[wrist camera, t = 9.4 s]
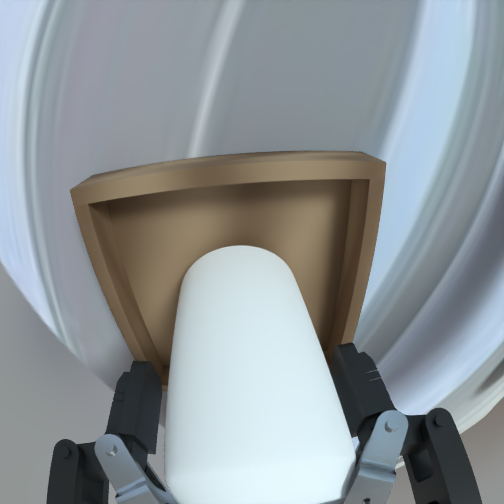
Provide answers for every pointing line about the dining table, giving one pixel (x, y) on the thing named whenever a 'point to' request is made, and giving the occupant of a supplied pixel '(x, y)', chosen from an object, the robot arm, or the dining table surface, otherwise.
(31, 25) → the dining table surface
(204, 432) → the can
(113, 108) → the dining table surface
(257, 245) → the tray
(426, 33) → the dining table surface
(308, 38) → the dining table surface
